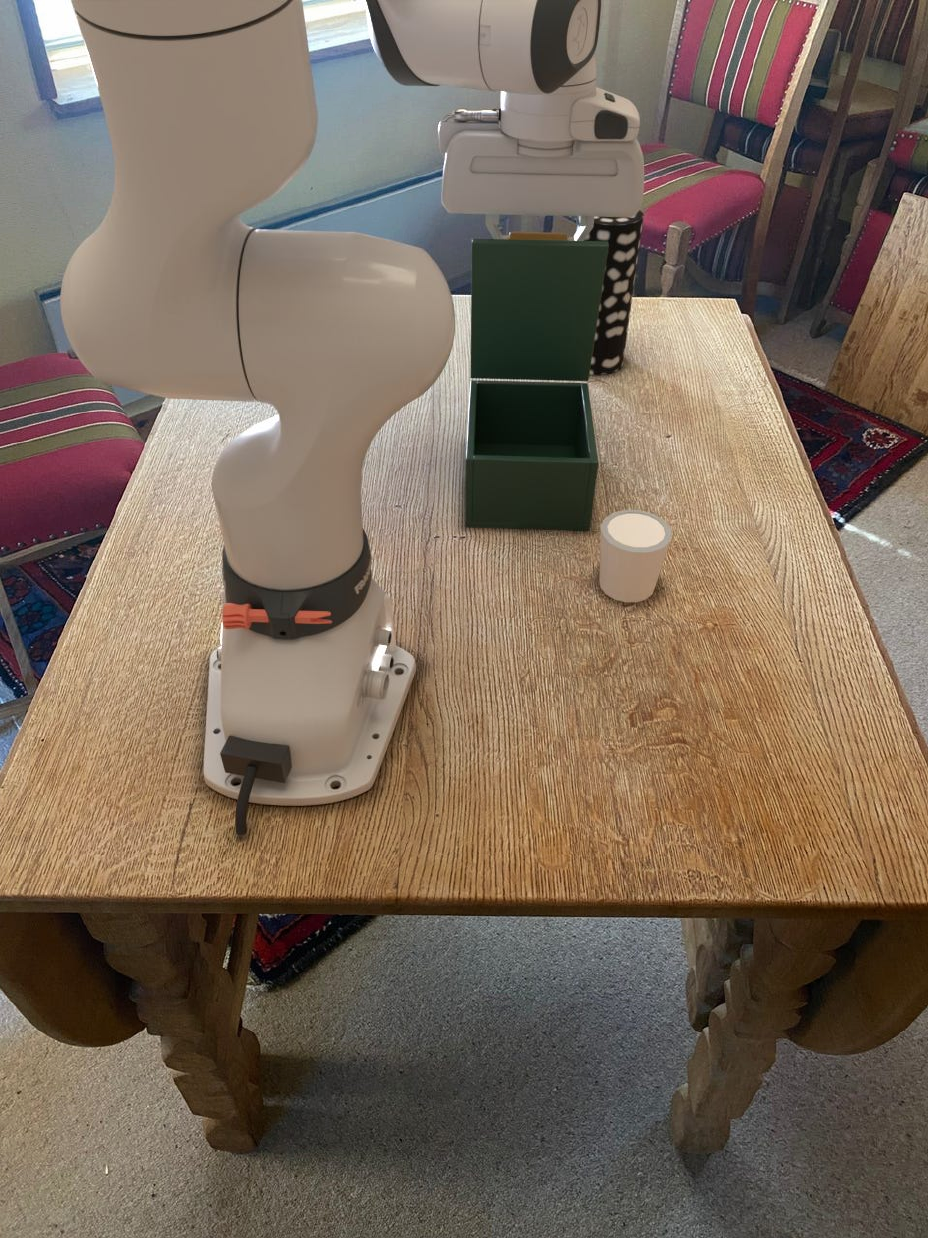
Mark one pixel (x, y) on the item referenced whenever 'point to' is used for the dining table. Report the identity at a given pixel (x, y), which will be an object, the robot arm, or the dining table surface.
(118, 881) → the dining table surface
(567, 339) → the lid
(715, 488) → the dining table surface
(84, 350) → the robot arm
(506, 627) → the dining table surface
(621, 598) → the shot glass
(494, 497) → the chest
